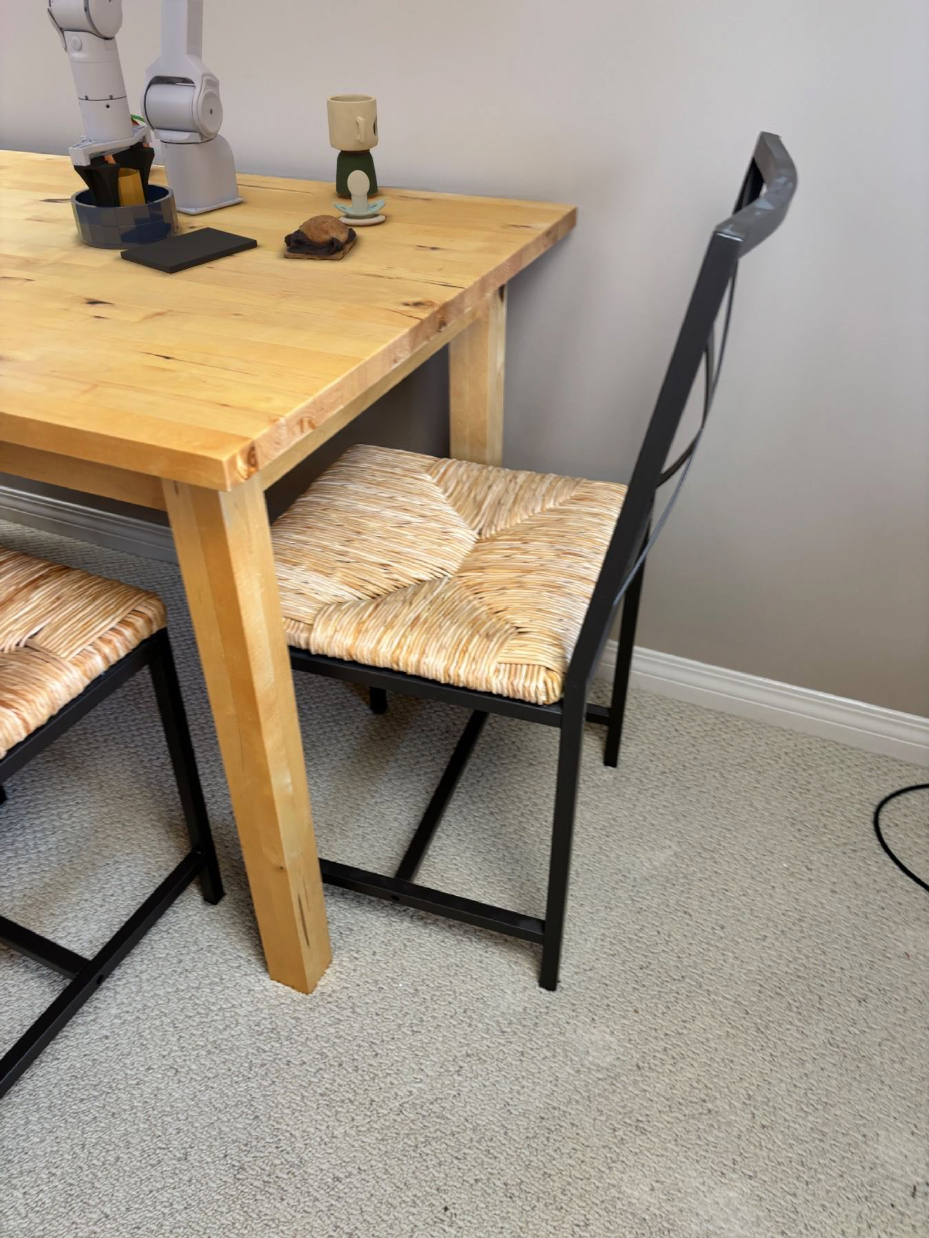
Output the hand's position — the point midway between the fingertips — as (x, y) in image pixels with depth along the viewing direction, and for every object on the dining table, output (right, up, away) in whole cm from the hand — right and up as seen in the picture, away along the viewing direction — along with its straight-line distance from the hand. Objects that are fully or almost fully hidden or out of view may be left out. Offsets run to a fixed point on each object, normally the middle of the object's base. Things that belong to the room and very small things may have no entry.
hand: (126, 214), depth 123 cm
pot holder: (+10, -7, -4) cm, 13 cm away
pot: (0, -2, +2) cm, 3 cm away
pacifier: (+30, +2, +8) cm, 31 cm away
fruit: (-10, +18, +27) cm, 34 cm away
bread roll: (+26, -5, -2) cm, 27 cm away
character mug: (+28, +11, +19) cm, 35 cm away
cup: (0, -2, +1) cm, 2 cm away
